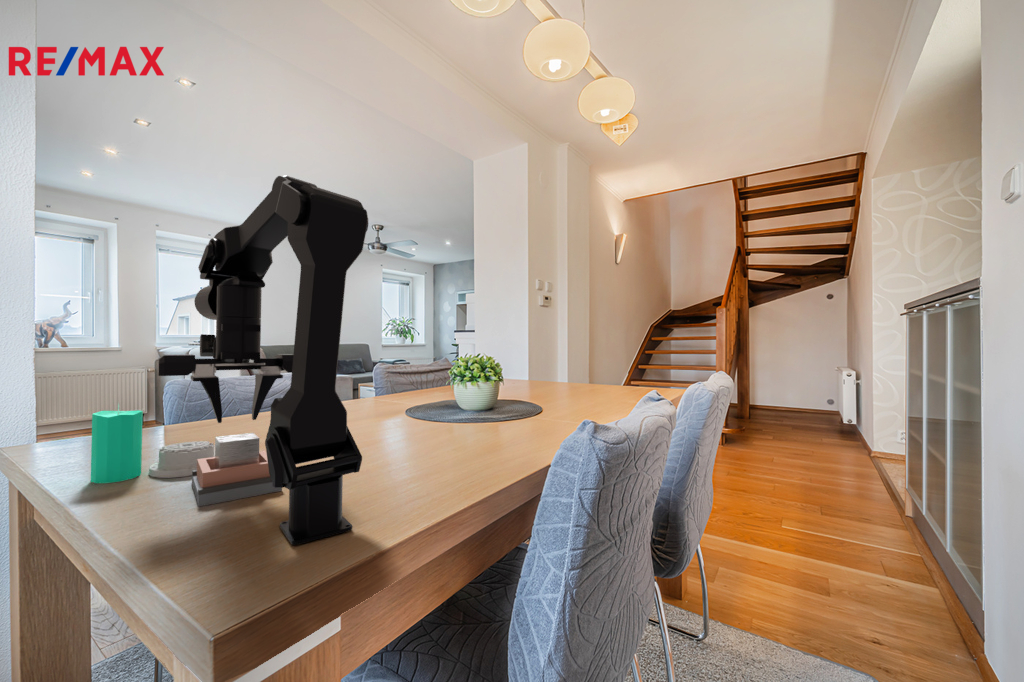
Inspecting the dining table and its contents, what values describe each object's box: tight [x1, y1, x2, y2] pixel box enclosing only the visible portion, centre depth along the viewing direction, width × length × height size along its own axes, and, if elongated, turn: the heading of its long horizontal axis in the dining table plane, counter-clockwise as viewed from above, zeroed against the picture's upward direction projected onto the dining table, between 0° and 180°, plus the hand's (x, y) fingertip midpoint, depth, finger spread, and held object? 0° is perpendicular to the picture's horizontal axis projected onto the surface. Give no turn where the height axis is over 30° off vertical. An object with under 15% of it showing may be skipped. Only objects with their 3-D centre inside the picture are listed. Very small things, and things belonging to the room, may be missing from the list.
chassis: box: [191, 450, 283, 507], centre depth 64 cm, size 12×10×4 cm
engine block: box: [214, 432, 260, 469], centre depth 65 cm, size 5×5×6 cm
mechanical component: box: [148, 440, 215, 479], centre depth 73 cm, size 10×4×10 cm
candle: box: [90, 402, 144, 484], centre depth 68 cm, size 6×6×12 cm
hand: (237, 421), depth 65 cm, fingers open, 4 cm apart
